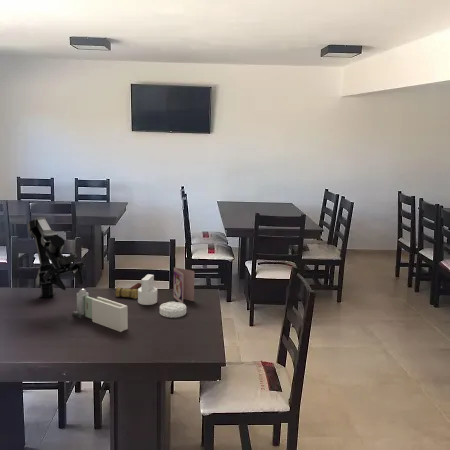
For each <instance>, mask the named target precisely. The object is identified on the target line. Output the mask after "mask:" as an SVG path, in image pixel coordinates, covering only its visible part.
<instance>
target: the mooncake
mask: <svg viewBox="0 0 450 450" xmlns="http://www.w3.org/2000/svg"><path fill="white" fill-rule="evenodd" d="M186 314H187V305H186V304H185V303H184V302H183V303H180V302H179V301H178V302H177V301H168V302H164V303H161V304H160V305H159V315H161V316H163V317H165V318H172V319H173V318H181V317H184V316H185V315H186Z"/></svg>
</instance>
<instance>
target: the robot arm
mask: <svg viewBox="0 0 450 450" xmlns="http://www.w3.org/2000/svg"><path fill="white" fill-rule="evenodd" d="M27 230H28V232H29V234H30V237H31V238H32V239H33V240H34V242H35V246H36V251H37V257H38V260H39V265H40V267H39V269H38V272H37V276H36V279H35V280H36V284H37V286H39V287H40V294H39V296H38V298H39V299H44V298H45V299H49V298H50V299H53V298H54V297H55V295H56V293H57V292H55V291H54V285H55V286H56V287H58V288H60V290H63V291H66V289H67V288H66V286H65V284H64V282H63V280H62V279H61V275H63V274H66V273H70V272H71V273H72V276H73V278H74V279H75V280H76V281H77V283H79V284H80V286H83V284H84V280H83V275H82V273H83V272H82V271H83V270H84V268H85V267H86V265H85V263H84V262H83V261H78V262H76V260H78V258H79V257H78V255H77V253H76V252H72V253H70V254H69V255H67V256H66V255H63V253H62V251H63V248H64V246H65V239H64V238H63V237H62V236H60V235H59V234H58V233H57V231H55V230H52V228H51V227H50V224H49V223H48V220H47V218H46V217H44V216H43V217H42V216H41V217H35V218H34V219H32V220H30V221H29V222H28V223H27ZM73 263H74V264H73ZM72 264H73V265H72Z"/></svg>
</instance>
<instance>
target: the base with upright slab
mask: <svg viewBox="0 0 450 450" xmlns="http://www.w3.org/2000/svg"><path fill="white" fill-rule="evenodd" d="M154 278H155V275H154V274H149V273H148V274H146V275H145V276H144V277H143V278H141V280H140V281H141V282H140V283H141V287H140V288H139V289H138V297H137V303H138V304H140V305H144V306H145V305H146V306H149V305H156V303H158V288H157V287H155V279H154Z"/></svg>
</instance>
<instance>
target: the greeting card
mask: <svg viewBox="0 0 450 450" xmlns="http://www.w3.org/2000/svg"><path fill="white" fill-rule="evenodd" d="M172 273H173V298H174V299H176V301H178V302H180V303H183V304H184V300H186V301H191V302H195V270H191V269H186V268H185V269H184V268H180V267H173V271H172Z"/></svg>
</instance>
